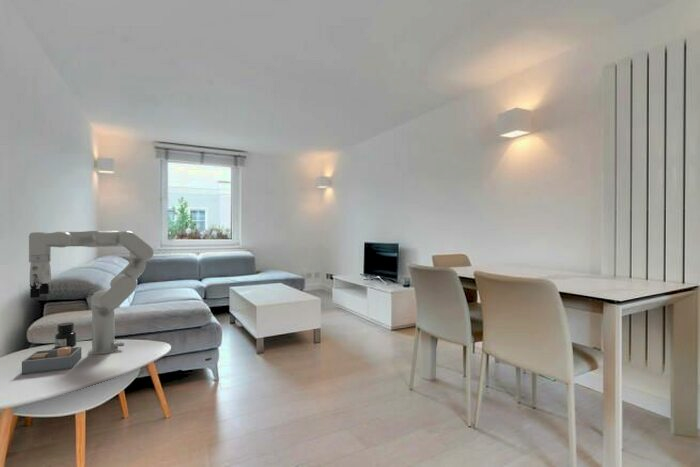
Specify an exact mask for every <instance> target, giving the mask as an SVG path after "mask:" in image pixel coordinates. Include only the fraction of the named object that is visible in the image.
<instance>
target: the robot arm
mask: <svg viewBox="0 0 700 467" xmlns="http://www.w3.org/2000/svg"><path fill="white" fill-rule="evenodd" d="M66 247H83V248H84V247H85V248H118V247H119V248H122V247H123V248H125V249H126V250H127V251H128V252H129V258H130V259H129V262H128V263H127V265H126V266H125V267H124V268H123V269H122V270H121V271H120V272H118V273H117V274H116V275H115V276H114V277H112V279H111V280H110V283H109V287H110V288H109V289H100V290H97V291H96V292H94V293H93V295H92V296H91V298H90V307H91V348H90V349H88V353H87V354H88V355H91V356H93V355H94V356H98V355H99V356H100V355H101V356H102V355H106V354H110V353H113V352H115V351H116V352H117V350H119V347H125V342H124V341H117V339H115V336H116V334H115V331H116V330H115V326H116V324H115V322H116V321H115V320H116V319H115V317H116V316H115V315H116V314H115V310H116V309H117V308H118V307H120V306H121V305H122V304H124V302H125V301H126V300H127V299H128V298H129V297H131V295H132V294H133V293H134V292H135V291H136V289H137V286H138V282H137V280H138V279H139V278H140V276H142V274H143V273H144V271H145V270H146V268H147V261H150V260H151V259H152V258H153V256H154V249H153V248H152V247H151V246H150V245H149V244H148V243H147V242H145V241H144V240H143V239H141V238H140V237H139V236H138V235H137V234H135V233H134V232H132V231H130V230H87V231H54V232H48V231H47V232H46V231H37V232H36V231H33V232H30V233H29V235H28V263H30V266H29V267H30V268H29V290H30V293H29V295H30V298H31V299H37V298H40V296H41V295H48V294H50V282H51V281H52V272H51V256H52V255H51V248H66Z"/></svg>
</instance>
